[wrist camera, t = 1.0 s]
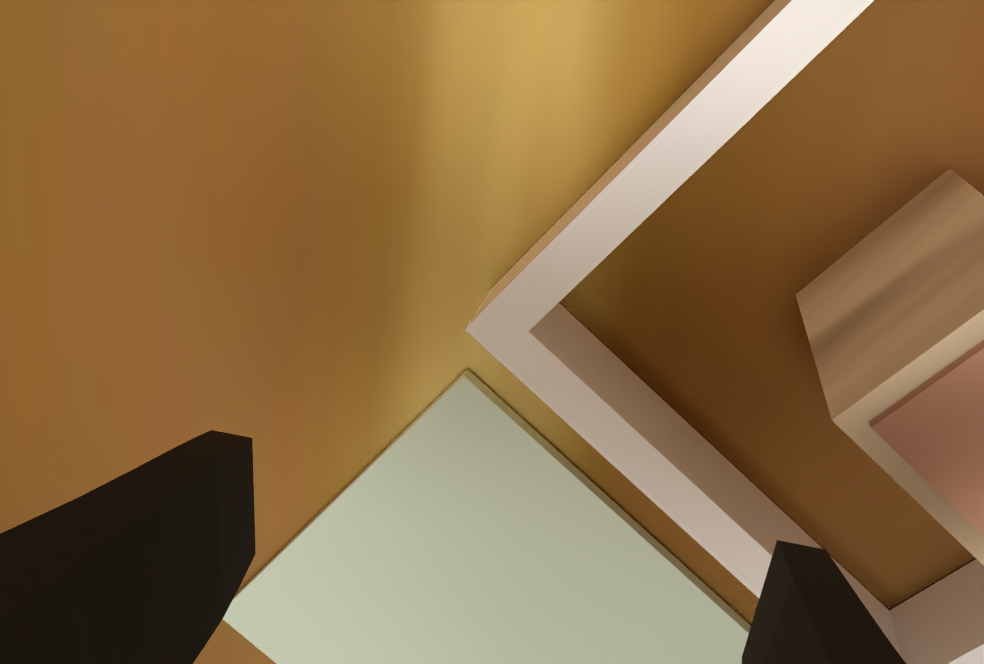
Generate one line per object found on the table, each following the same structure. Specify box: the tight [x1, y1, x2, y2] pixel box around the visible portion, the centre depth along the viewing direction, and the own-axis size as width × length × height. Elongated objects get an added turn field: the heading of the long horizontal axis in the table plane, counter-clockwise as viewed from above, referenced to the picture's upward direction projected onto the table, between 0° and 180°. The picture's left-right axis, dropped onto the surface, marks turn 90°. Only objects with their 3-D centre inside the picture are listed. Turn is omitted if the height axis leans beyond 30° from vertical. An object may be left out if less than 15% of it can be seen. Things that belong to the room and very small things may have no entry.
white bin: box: [464, 0, 984, 664], centre depth 18 cm, size 14×14×2 cm
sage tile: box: [223, 369, 751, 664], centre depth 25 cm, size 12×12×1 cm
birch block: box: [796, 168, 984, 566], centre depth 16 cm, size 4×4×6 cm
